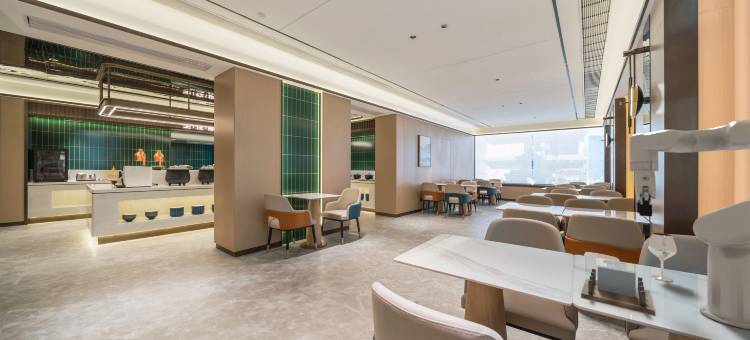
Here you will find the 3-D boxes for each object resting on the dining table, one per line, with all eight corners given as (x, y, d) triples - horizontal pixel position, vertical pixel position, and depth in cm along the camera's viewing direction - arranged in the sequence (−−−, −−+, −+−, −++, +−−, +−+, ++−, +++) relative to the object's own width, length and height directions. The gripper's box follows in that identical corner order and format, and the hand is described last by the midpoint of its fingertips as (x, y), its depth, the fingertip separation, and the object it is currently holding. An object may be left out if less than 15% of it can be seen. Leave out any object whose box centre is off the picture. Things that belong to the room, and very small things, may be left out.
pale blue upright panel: (635, 295, 95) (635, 271, 95) (635, 297, 94) (635, 273, 94) (597, 287, 102) (597, 265, 102) (597, 289, 100) (597, 266, 100)
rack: (649, 294, 99) (649, 278, 99) (654, 314, 85) (654, 295, 85) (586, 280, 111) (586, 266, 111) (581, 296, 97) (580, 280, 97)
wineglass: (663, 275, 118) (663, 232, 118) (683, 282, 110) (683, 237, 110) (642, 274, 119) (642, 232, 119) (660, 282, 110) (660, 236, 111)
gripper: (662, 166, 93) (662, 218, 92) (655, 167, 106) (655, 213, 106) (631, 167, 97) (631, 216, 97) (628, 168, 111) (628, 211, 111)
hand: (644, 214), depth 101 cm, fingers open, 9 cm apart
